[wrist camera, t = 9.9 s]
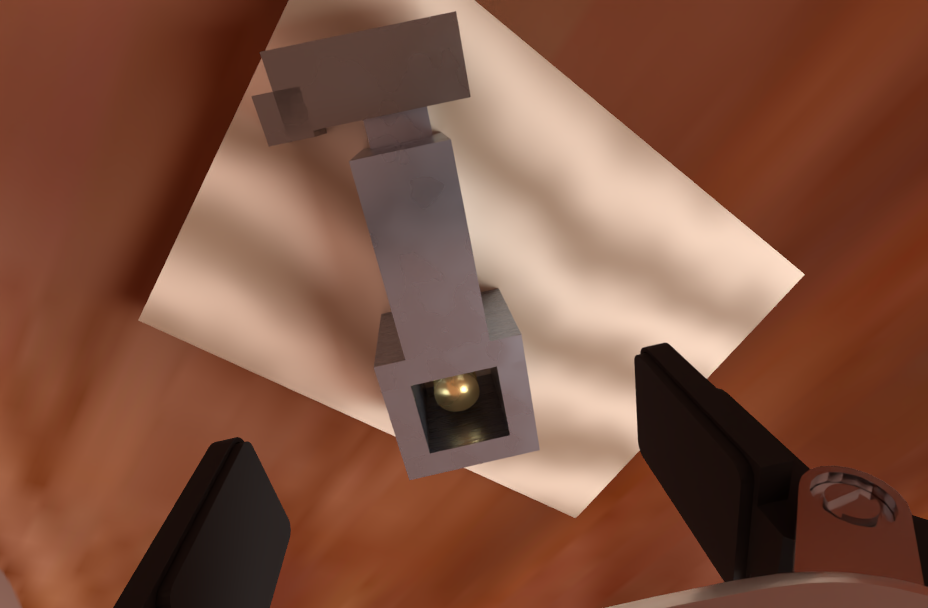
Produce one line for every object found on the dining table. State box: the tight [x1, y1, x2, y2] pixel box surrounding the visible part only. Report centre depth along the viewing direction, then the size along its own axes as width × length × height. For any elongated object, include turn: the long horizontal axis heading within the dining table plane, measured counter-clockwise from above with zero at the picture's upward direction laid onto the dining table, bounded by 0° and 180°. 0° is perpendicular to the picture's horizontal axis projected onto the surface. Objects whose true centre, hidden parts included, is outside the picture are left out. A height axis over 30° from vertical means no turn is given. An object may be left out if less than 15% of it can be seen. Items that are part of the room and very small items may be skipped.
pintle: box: [433, 371, 480, 412], centre depth 27 cm, size 2×2×6 cm
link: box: [349, 106, 540, 480], centre depth 23 cm, size 20×7×6 cm, turn 11°
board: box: [139, 0, 805, 518], centre depth 28 cm, size 23×32×2 cm
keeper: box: [251, 11, 471, 147], centre depth 21 cm, size 4×9×5 cm, turn 101°
